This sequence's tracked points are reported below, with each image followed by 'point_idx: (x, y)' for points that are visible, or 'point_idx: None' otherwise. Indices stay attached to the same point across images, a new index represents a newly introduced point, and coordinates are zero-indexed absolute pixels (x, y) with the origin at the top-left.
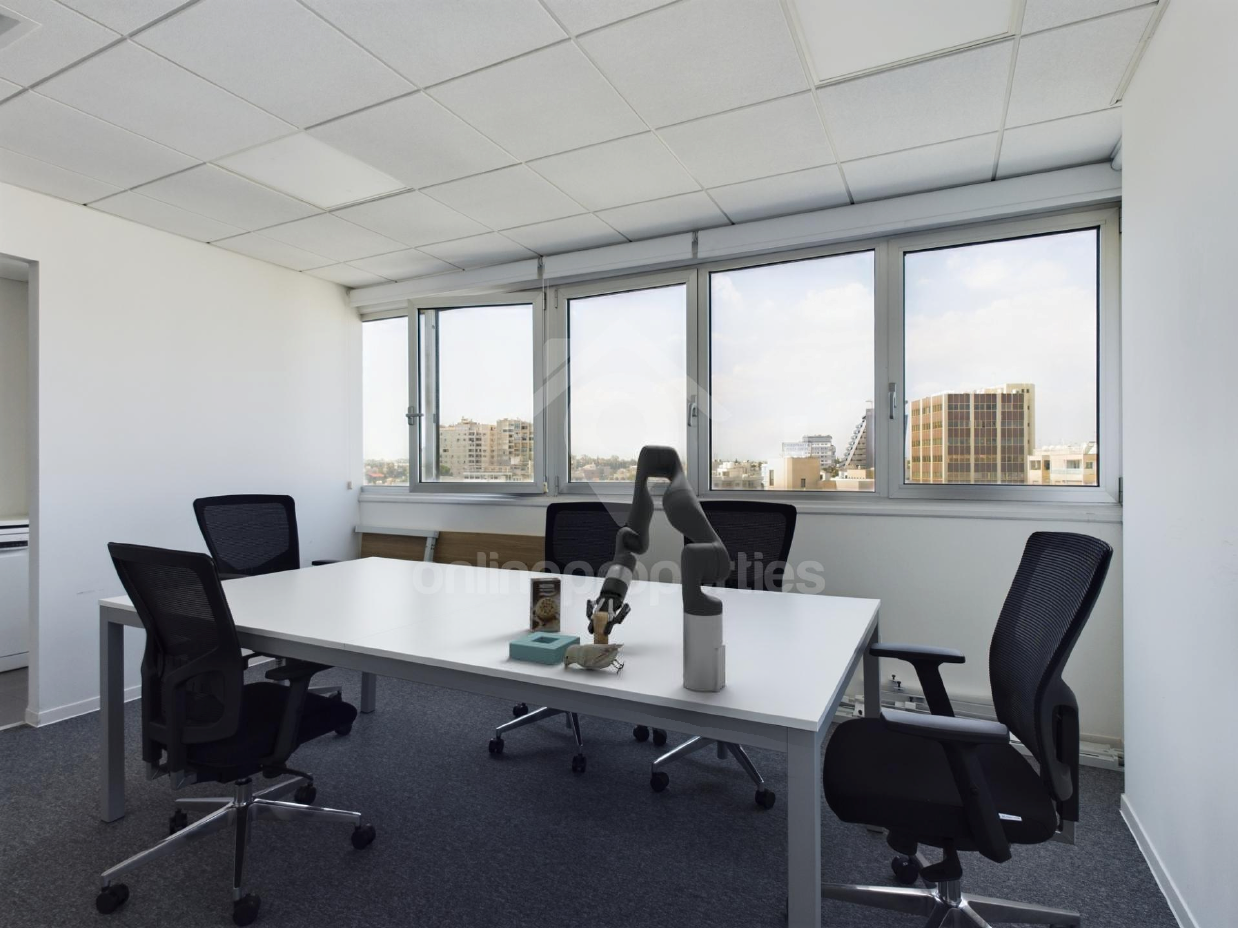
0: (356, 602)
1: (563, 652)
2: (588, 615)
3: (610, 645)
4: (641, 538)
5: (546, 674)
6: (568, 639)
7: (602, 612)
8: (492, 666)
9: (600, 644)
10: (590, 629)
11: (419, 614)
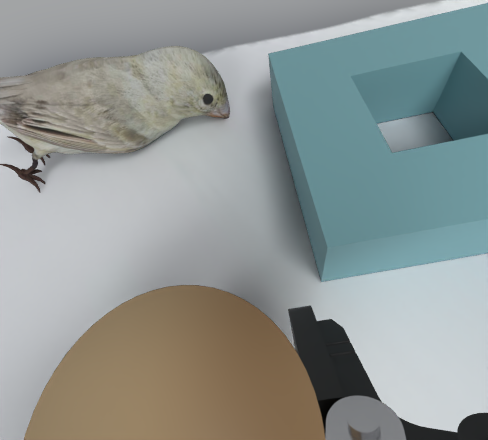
0: None
1: (285, 130)
2: (473, 433)
3: (2, 80)
4: None
5: (230, 58)
6: (337, 167)
7: None
8: (409, 14)
9: (49, 75)
10: (290, 310)
11: None
